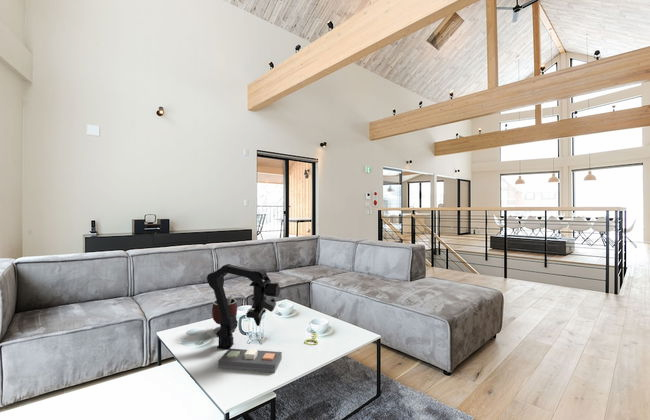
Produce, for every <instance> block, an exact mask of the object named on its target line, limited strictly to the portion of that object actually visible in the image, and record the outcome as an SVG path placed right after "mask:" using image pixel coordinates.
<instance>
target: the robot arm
mask: <svg viewBox="0 0 650 420" xmlns="http://www.w3.org/2000/svg"><path fill="white" fill-rule="evenodd" d="M228 274H231V275H235V276H238V277H243V278H247V279H248V280H249V281H251V283H250V284H249V287H253V289H252V291H253V294H252V295H253V296H252V297H251V301H252V305H251V309H249V310H248V311H247V312H246V313H245V314H246V316H245V317H246V318H249V319H250V318H251V319H253V320H254V323H255V325H256V326H257V327H260V325H261V321H262V317H263V315H264V313H266V312H267V310H268V312H273V311H274V310H275V308H276V306H277V302H276V299H275V298H278V297H279V296H280V293H281V287H280V285H279V282H272V280H271V279H270V277H269V276H268V274H267V271H266V270H265V269H263V268H247V267H242V266H237V265H233V264H230V263H226V264H224V265H222V266H221V267H220V268H218V269H217V270H215V271H213V272H210V273H208V274H207V276H206V280H207V283H208V285H209V287H210V288H211V289H212V290H213V293H214V297H215V300H217V304H218V307H219V311H220V314H221V321H220V324H219V327H221V329H220V330H219V331H218V332H217V333H216V334H215V335H216V338H218V346H217V347H216V348H217V350H218V349H220V350H229V348H231V349H232V347H233V345H235V344H234V336H233V333H235V331H236V329H237V327H238V323H239V322H238V321H239V320H238V319H237V315H235V316H233V315H232V314H231V313H230V309H229V306H228V302H227V299H226V298H227V295H226V293H225V289H224V284H225V276H227V275H228ZM267 297H272V298H271V299H267ZM234 330H235V331H234ZM232 332H233V333H232Z"/></svg>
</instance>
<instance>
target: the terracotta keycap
mask: <svg viewBox="0 0 650 420" xmlns="http://www.w3.org/2000/svg"><path fill="white" fill-rule="evenodd" d="M274 358H275V354H272V353H265V355H264V356H263V360H269V361H273V360H274Z"/></svg>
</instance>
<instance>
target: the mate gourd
mask: <svg viewBox="0 0 650 420" xmlns="http://www.w3.org/2000/svg"><path fill="white" fill-rule="evenodd" d="M234 294H235V293H234V292H232V293H230V294H229V296H228V297H226V299H227V302H228V306H229V309H230V313H231V314H232V315H233V316H235V315H236V316H237V315H238V314H237V313H238V303H237V300H236V299H235V298H233V295H234ZM211 315H212V320H213V321H214V323H215V324H217V325H220V321H221V314H220V311H219V307H218V304H217V300H216V299H215V300H213V302H212V308H211ZM220 329H221V327H220V326H217V327H215V328H214V329H212V330H213V334H215V335H216V333H217V332H218V331H219V330H220ZM235 331H236V329H235V330H234V332H235ZM234 332H232V334H233V333H234Z"/></svg>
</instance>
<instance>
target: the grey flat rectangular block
mask: <svg viewBox="0 0 650 420" xmlns="http://www.w3.org/2000/svg"><path fill="white" fill-rule="evenodd" d="M247 350H248V349H246V348H245V349H240V348H232V347H231V348H229V349H227V350H226V351H225V353H224V354H223V355H222V356H221V357H220V358H219V359H218V365H217V366H218V367H217V368H218V369H221V370H235V371H248V372H249V371H250V372H259V373H261V372H262V373H274V374H275V373H276V371H277V369H278V367H279V365H280V363H281V362H282V357H283V354H282V353H283V352H282V351H275V350H274V351H271V350H259V349H257V350H258V355H257V357H256V358H255V359H244V358H245V353H246V351H247ZM230 351H240V355H239V356H238V357H237V358H227V354H228V353H229V352H230ZM265 353H272V354H275V358H274V360H273V361H269V360H263V356H264V355H265Z"/></svg>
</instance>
